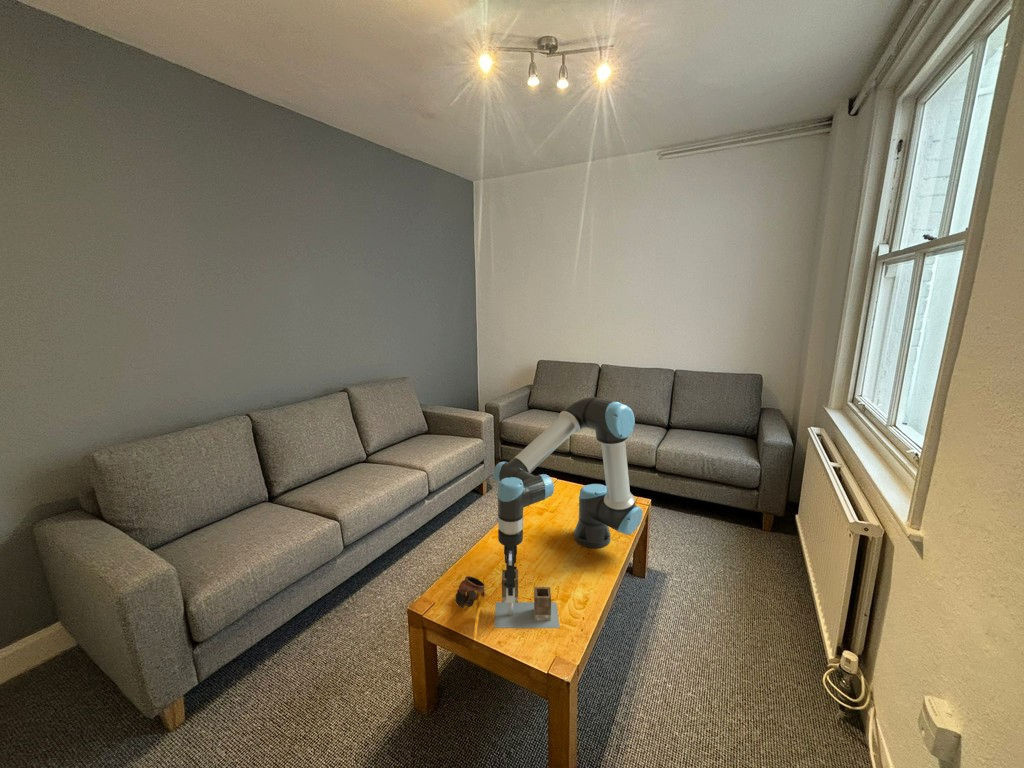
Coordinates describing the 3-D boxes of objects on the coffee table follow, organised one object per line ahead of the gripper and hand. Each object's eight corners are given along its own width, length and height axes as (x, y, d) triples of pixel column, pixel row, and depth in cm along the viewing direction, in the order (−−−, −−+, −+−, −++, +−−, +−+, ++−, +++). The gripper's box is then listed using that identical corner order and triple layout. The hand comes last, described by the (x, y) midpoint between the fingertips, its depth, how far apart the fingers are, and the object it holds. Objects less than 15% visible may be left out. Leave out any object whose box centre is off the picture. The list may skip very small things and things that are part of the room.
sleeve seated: (549, 608, 135) (549, 587, 134) (550, 620, 130) (551, 598, 129) (534, 608, 135) (534, 587, 134) (534, 620, 130) (535, 598, 129)
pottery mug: (451, 595, 144) (461, 571, 145) (476, 603, 146) (485, 580, 147) (455, 611, 132) (465, 585, 134) (482, 620, 134) (492, 595, 135)
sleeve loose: (518, 592, 134) (518, 569, 132) (518, 603, 129) (518, 580, 127) (502, 591, 134) (502, 569, 132) (501, 602, 129) (501, 580, 127)
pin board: (556, 605, 138) (556, 587, 137) (559, 631, 128) (560, 611, 126) (495, 605, 138) (495, 586, 137) (494, 631, 128) (494, 611, 126)
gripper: (499, 513, 136) (499, 577, 140) (496, 545, 118) (497, 617, 123) (522, 513, 135) (522, 577, 140) (523, 545, 118) (523, 617, 122)
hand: (510, 595), depth 131 cm, fingers closed on sleeve loose, 5 cm apart
